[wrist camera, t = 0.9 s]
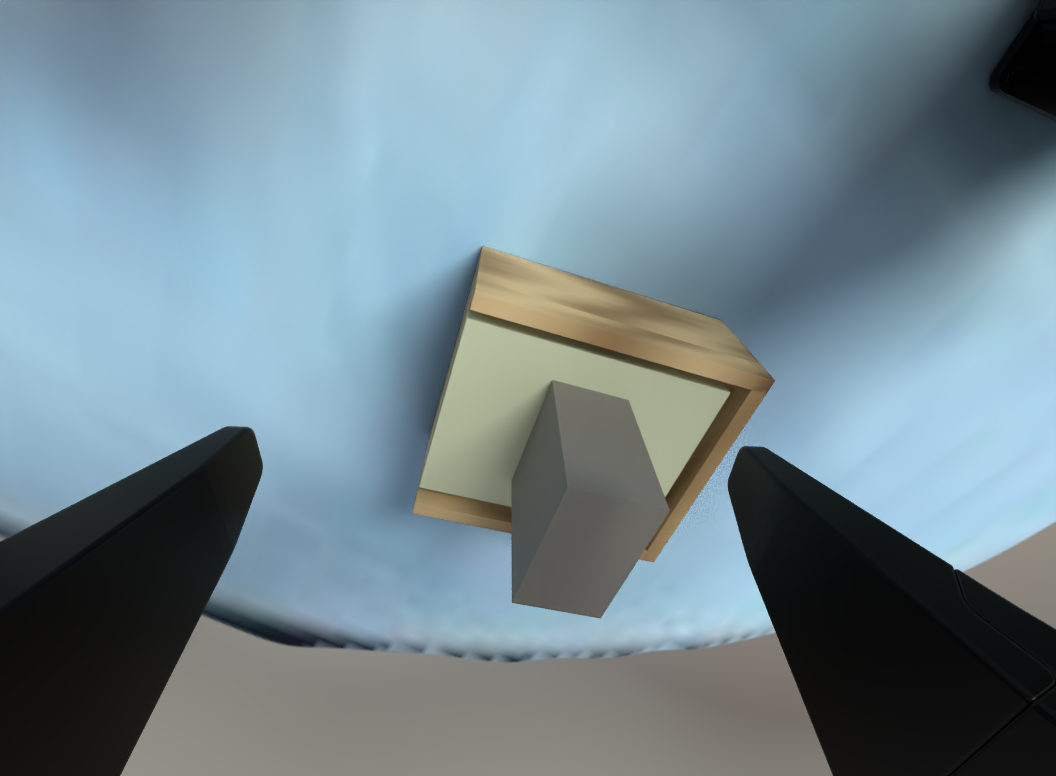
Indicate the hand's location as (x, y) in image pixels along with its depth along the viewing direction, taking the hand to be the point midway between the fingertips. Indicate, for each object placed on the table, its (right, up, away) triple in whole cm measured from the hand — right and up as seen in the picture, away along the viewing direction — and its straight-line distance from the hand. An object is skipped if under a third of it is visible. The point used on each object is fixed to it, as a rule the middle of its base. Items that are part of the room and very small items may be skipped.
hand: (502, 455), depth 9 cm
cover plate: (+2, 0, +11) cm, 11 cm away
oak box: (+2, +2, +14) cm, 15 cm away
